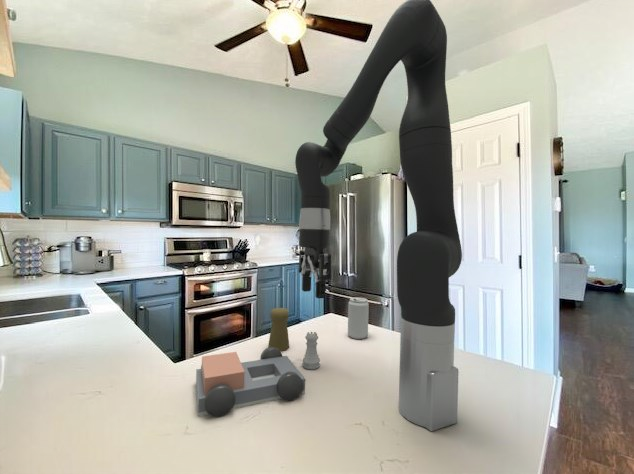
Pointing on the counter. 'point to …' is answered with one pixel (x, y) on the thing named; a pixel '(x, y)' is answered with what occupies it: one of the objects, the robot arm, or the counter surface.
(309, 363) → the rook chess piece
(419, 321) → the robot arm
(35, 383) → the counter surface
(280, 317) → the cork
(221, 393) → the toy truck
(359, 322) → the beverage can
